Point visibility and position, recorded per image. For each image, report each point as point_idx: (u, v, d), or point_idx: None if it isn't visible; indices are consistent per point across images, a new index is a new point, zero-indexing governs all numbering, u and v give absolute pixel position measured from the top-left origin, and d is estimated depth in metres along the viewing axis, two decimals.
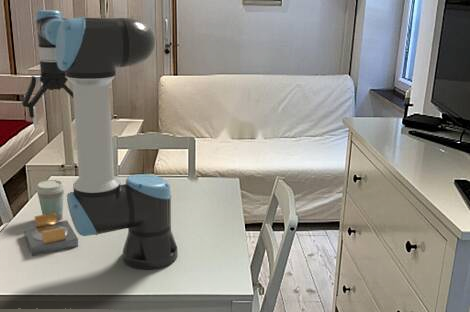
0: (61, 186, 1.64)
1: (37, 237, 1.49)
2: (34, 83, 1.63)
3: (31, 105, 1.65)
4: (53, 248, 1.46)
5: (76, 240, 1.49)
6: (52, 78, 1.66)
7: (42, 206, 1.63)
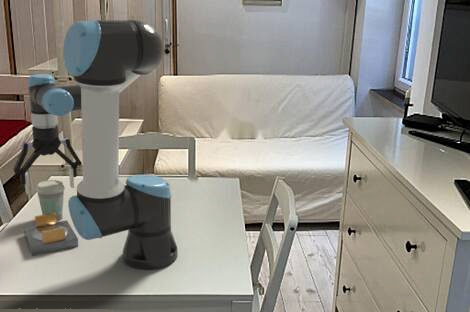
0: (61, 186, 1.64)
1: (37, 237, 1.49)
2: (26, 150, 1.57)
3: (23, 172, 1.58)
4: (53, 248, 1.46)
5: (76, 240, 1.49)
6: (45, 143, 1.59)
7: (42, 206, 1.63)
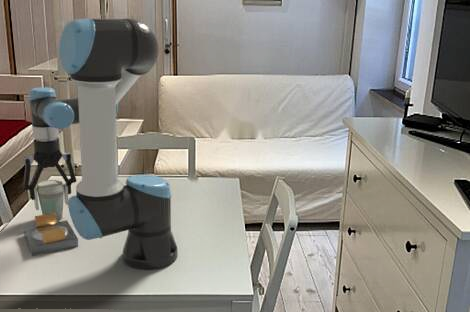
0: (61, 186, 1.64)
1: (37, 237, 1.49)
2: (29, 165, 1.58)
3: (32, 188, 1.61)
4: (53, 248, 1.46)
5: (76, 240, 1.49)
6: (45, 154, 1.60)
7: (42, 206, 1.63)
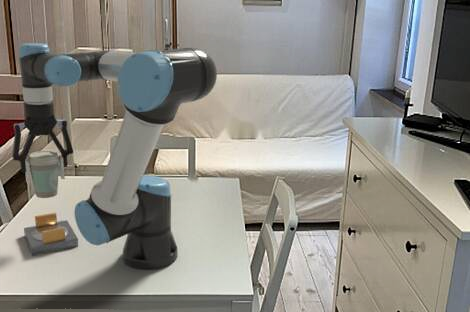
0: (56, 157, 1.45)
1: (37, 237, 1.49)
2: (19, 132, 1.39)
3: (23, 158, 1.41)
4: (53, 248, 1.46)
5: (76, 240, 1.49)
6: (38, 120, 1.41)
7: (34, 180, 1.44)
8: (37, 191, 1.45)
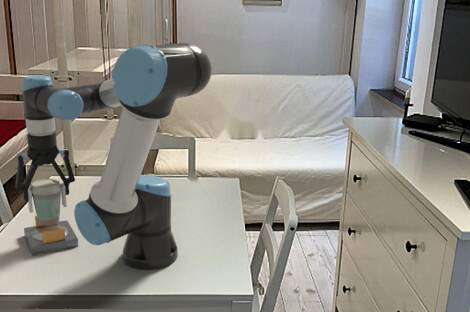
0: (58, 186, 1.47)
1: (37, 237, 1.49)
2: (22, 162, 1.41)
3: (25, 188, 1.44)
4: (53, 248, 1.46)
5: (76, 240, 1.49)
6: (40, 150, 1.43)
7: (37, 208, 1.47)
8: (39, 219, 1.48)
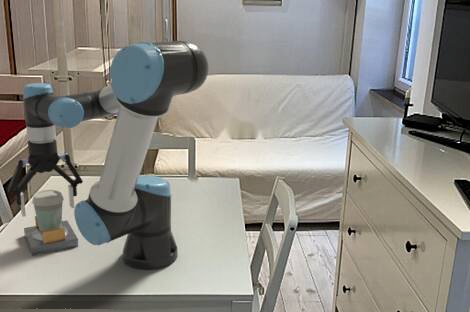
0: (60, 197, 1.48)
1: (37, 237, 1.49)
2: (21, 167, 1.42)
3: (18, 192, 1.43)
4: (53, 248, 1.46)
5: (76, 240, 1.49)
6: (42, 160, 1.44)
7: (39, 219, 1.48)
8: (41, 230, 1.49)
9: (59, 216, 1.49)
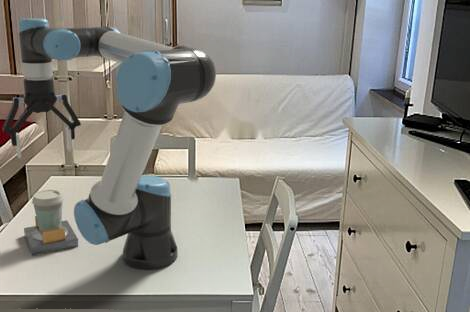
0: (60, 197, 1.48)
1: (37, 237, 1.49)
2: (17, 105, 1.37)
3: (13, 131, 1.38)
4: (53, 248, 1.46)
5: (76, 240, 1.49)
6: (38, 99, 1.39)
7: (39, 219, 1.48)
8: (41, 230, 1.49)
9: (59, 216, 1.49)
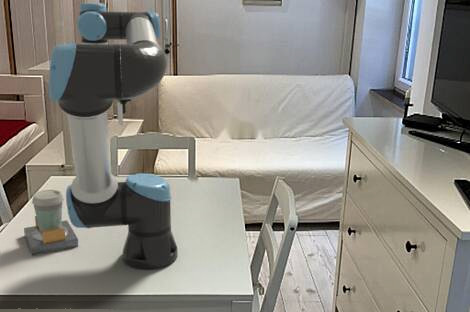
0: (60, 197, 1.48)
1: (37, 237, 1.49)
2: None
3: None
4: (53, 248, 1.46)
5: (76, 240, 1.49)
6: None
7: (39, 219, 1.48)
8: (41, 230, 1.49)
9: (59, 216, 1.49)
